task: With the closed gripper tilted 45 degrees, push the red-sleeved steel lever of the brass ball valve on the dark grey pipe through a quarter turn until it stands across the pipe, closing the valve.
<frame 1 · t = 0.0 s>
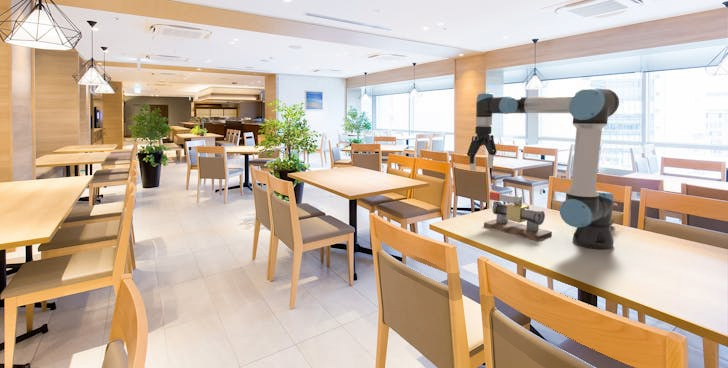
hand: (481, 168, 194), 28 cm above the table, tool pointing down, fingers open, 13 cm apart
valve lever: (506, 198, 188), point 15 cm above the table, hinge at 0.0°
walnut base board: (516, 230, 186), on the table
ceramic jug: (594, 225, 195), on the table
pipe and valve body: (517, 216, 184), on the walnut base board, point 7 cm above the table
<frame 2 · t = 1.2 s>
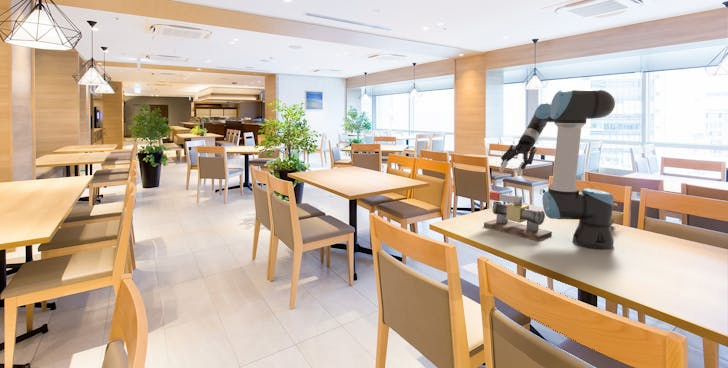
hand: (508, 172, 197), 26 cm above the table, tool tilted 45°, fingers open, 9 cm apart
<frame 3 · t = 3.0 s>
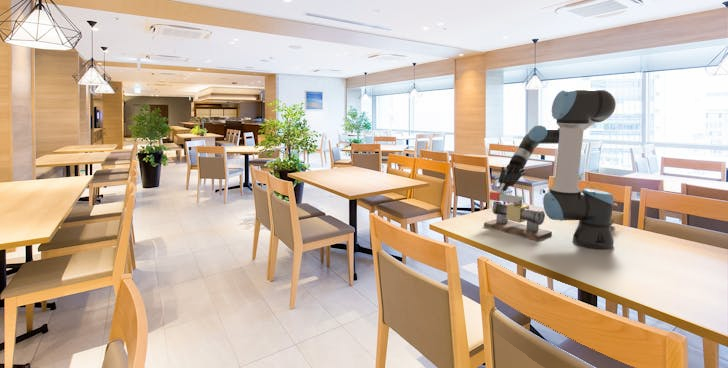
hand: (498, 195, 194), 15 cm above the table, tool tilted 45°, fingers closed
valve lever: (506, 198, 188), point 15 cm above the table, hinge at 0.0°, touching gripper
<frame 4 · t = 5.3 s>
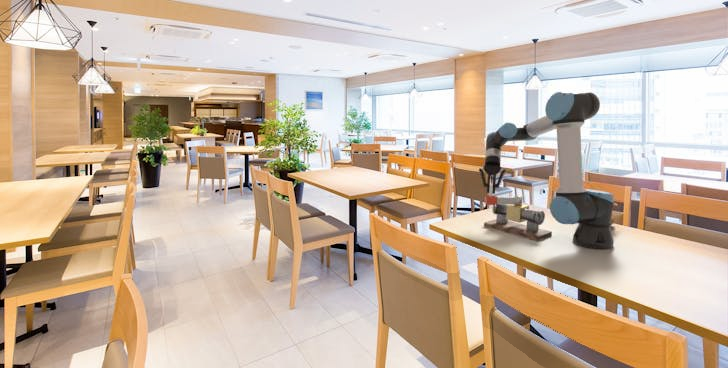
hand: (490, 198, 187), 15 cm above the table, tool tilted 45°, fingers closed
valve lever: (503, 200, 184), point 15 cm above the table, hinge at 48.8°, touching gripper
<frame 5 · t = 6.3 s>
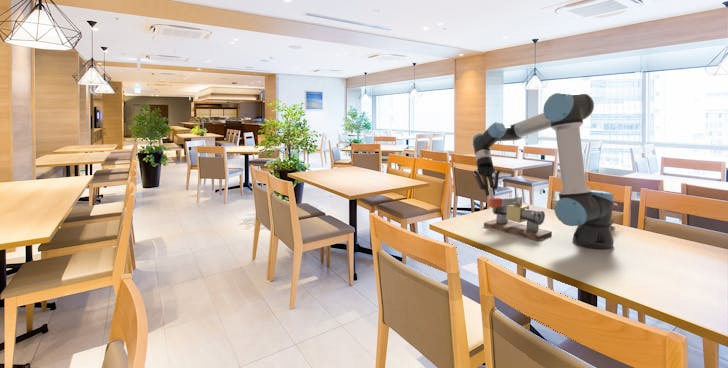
hand: (491, 201, 182), 15 cm above the table, tool tilted 45°, fingers closed
valve lever: (506, 201, 181), point 15 cm above the table, hinge at 70.5°, touching gripper
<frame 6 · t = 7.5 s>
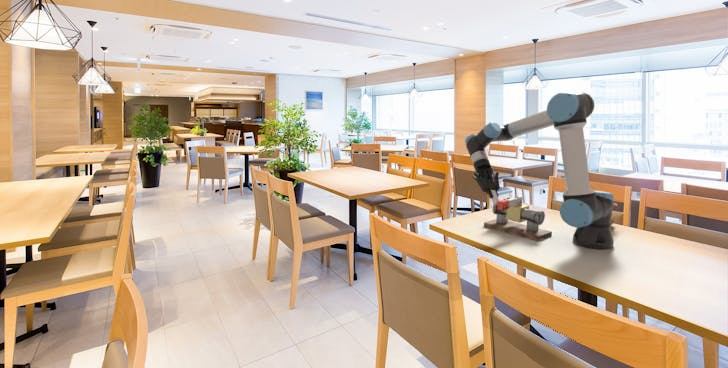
hand: (496, 203, 177), 15 cm above the table, tool tilted 45°, fingers closed
valve lever: (510, 202, 179), point 15 cm above the table, hinge at 91.9°, touching gripper
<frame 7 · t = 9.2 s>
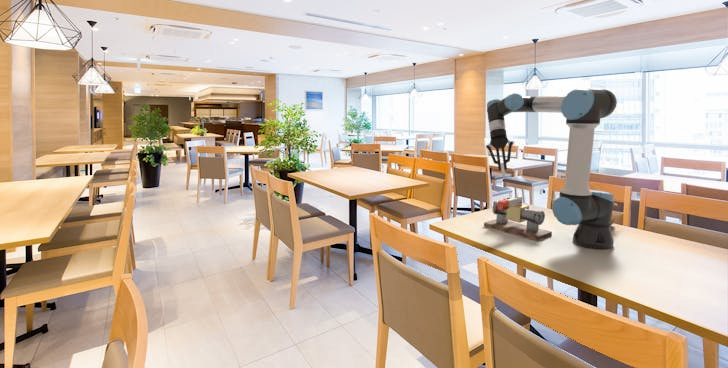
hand: (503, 176, 188), 25 cm above the table, tool tilted 25°, fingers closed
valve lever: (510, 202, 179), point 15 cm above the table, hinge at 91.9°
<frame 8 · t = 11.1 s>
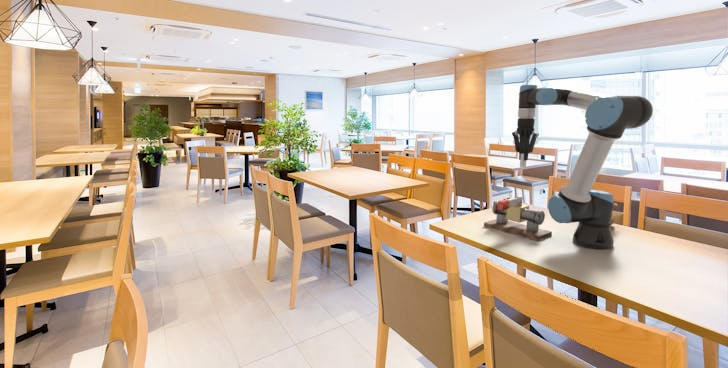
hand: (522, 166, 190), 29 cm above the table, tool pointing down, fingers closed
at the end: valve lever at +92° (first picture: +0°) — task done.
